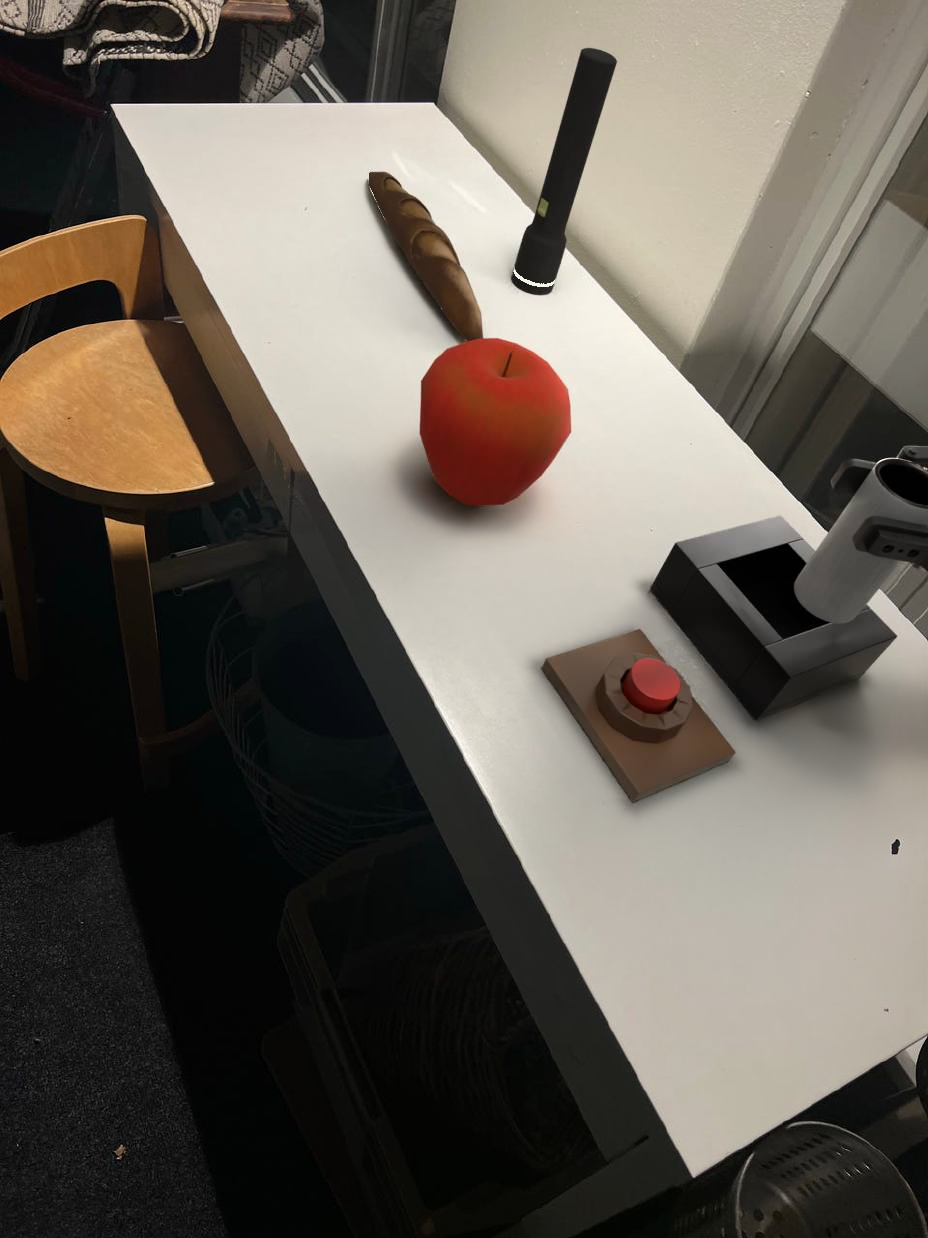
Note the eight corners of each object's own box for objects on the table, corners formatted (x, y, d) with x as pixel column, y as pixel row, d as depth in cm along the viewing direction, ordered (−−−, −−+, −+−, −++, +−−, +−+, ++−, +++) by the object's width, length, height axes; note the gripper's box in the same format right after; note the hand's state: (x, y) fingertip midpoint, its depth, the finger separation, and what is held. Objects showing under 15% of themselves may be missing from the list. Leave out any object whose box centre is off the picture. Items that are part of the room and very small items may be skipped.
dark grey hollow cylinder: (789, 567, 62) (870, 449, 54) (852, 584, 62) (941, 468, 55) (795, 614, 59) (881, 496, 51) (861, 632, 59) (956, 516, 51)
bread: (502, 360, 93) (514, 316, 89) (458, 361, 91) (469, 317, 87) (386, 180, 114) (392, 139, 110) (348, 178, 112) (353, 137, 108)
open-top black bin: (859, 678, 73) (898, 636, 69) (755, 721, 68) (790, 677, 64) (751, 559, 80) (780, 514, 76) (649, 589, 75) (674, 542, 71)
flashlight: (534, 268, 107) (502, 274, 105) (600, 43, 90) (564, 43, 87) (561, 291, 105) (529, 297, 102) (634, 64, 87) (598, 65, 85)
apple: (566, 509, 79) (621, 374, 69) (467, 558, 73) (513, 417, 62) (473, 428, 84) (512, 291, 74) (373, 467, 77) (400, 322, 67)
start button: (680, 705, 64) (690, 691, 63) (641, 720, 62) (651, 706, 61) (651, 667, 66) (660, 652, 64) (612, 680, 64) (621, 665, 63)
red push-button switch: (729, 761, 65) (747, 738, 63) (632, 802, 61) (649, 779, 59) (634, 637, 71) (648, 613, 69) (541, 667, 67) (552, 642, 65)
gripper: (1092, 432, 59) (850, 382, 56) (1207, 592, 49) (922, 540, 47) (1016, 516, 64) (793, 474, 62) (1106, 675, 55) (847, 633, 52)
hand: (850, 503), depth 54 cm, fingers closed on dark grey hollow cylinder, 4 cm apart
